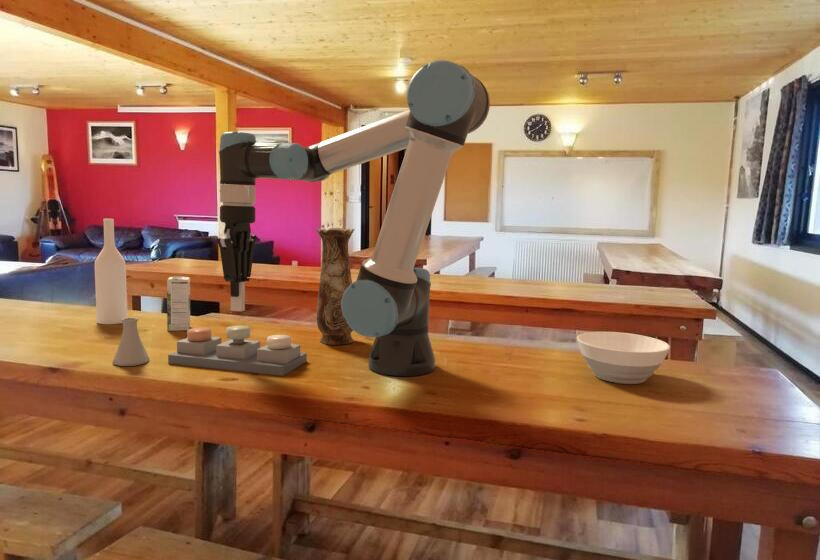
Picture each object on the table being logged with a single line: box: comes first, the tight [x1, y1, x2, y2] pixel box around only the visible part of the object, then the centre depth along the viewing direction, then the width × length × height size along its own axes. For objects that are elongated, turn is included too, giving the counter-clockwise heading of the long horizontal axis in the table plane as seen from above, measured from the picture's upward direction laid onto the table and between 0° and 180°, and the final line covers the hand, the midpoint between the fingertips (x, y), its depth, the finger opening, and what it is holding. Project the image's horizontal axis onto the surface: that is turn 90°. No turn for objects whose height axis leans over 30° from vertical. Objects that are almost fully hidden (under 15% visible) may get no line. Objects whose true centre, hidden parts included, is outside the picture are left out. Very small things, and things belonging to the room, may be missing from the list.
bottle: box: [94, 218, 129, 325], centre depth 171 cm, size 8×8×30 cm
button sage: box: [225, 325, 251, 346], centre depth 134 cm, size 5×5×4 cm
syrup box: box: [166, 276, 191, 332], centre depth 165 cm, size 6×6×14 cm
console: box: [167, 336, 308, 377], centre depth 134 cm, size 28×12×4 cm, turn 76°
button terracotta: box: [186, 327, 212, 342], centre depth 136 cm, size 5×5×4 cm
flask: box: [112, 317, 151, 367], centre depth 131 cm, size 7×7×10 cm
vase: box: [315, 227, 355, 346], centre depth 155 cm, size 10×11×30 cm
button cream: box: [266, 334, 292, 350], centre depth 132 cm, size 5×5×4 cm
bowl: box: [576, 331, 671, 385], centre depth 131 cm, size 20×19×8 cm
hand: (237, 310), depth 133 cm, fingers closed
